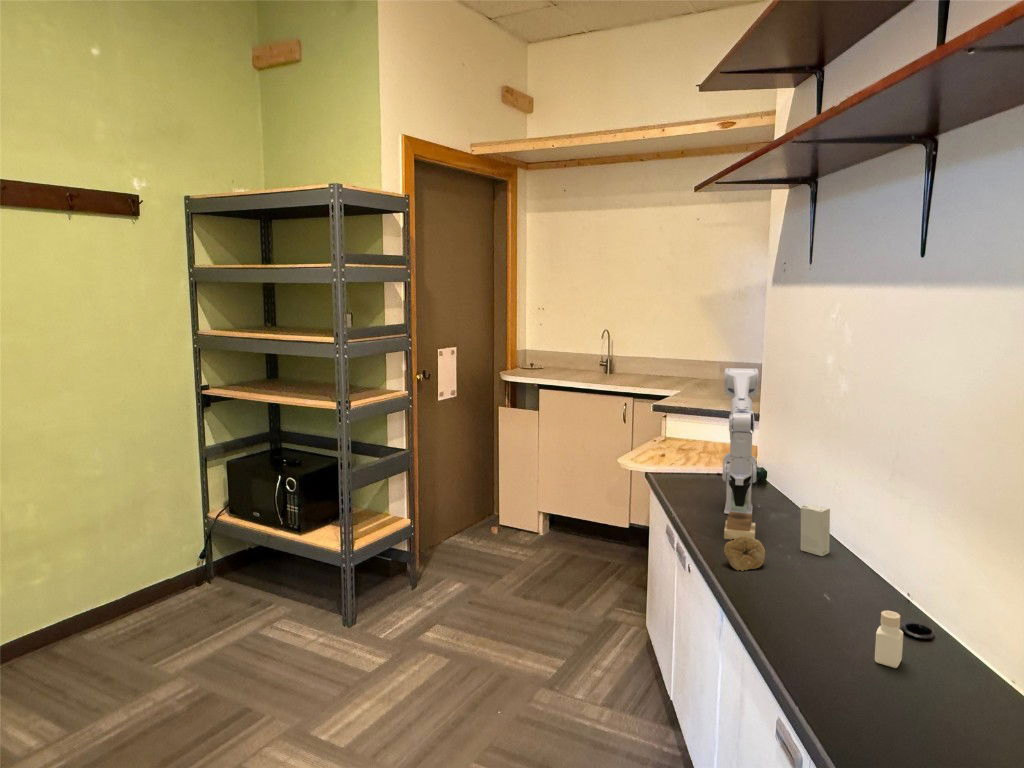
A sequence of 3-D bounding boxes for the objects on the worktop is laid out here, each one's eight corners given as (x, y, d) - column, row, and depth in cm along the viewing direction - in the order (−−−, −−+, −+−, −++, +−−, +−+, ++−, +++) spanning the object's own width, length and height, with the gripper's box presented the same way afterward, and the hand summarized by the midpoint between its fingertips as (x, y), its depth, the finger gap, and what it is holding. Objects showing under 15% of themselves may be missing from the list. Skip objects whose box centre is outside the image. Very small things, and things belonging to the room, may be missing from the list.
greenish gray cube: (733, 505, 201) (734, 488, 200) (748, 507, 199) (748, 490, 198) (730, 510, 197) (731, 492, 197) (745, 512, 195) (746, 494, 195)
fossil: (719, 541, 180) (754, 530, 181) (715, 549, 183) (750, 537, 185) (736, 574, 174) (773, 561, 176) (733, 581, 178) (768, 568, 179)
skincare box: (829, 552, 186) (831, 508, 184) (821, 557, 183) (823, 512, 181) (807, 546, 190) (809, 502, 188) (798, 550, 187) (800, 506, 186)
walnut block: (729, 521, 203) (729, 511, 203) (751, 523, 201) (751, 513, 200) (727, 528, 198) (727, 518, 197) (749, 531, 195) (750, 520, 195)
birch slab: (725, 530, 205) (725, 520, 204) (755, 533, 202) (755, 522, 202) (724, 540, 197) (724, 530, 197) (754, 543, 195) (754, 532, 194)
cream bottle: (878, 654, 137) (881, 607, 135) (902, 660, 134) (905, 613, 133) (873, 663, 134) (876, 615, 132) (897, 670, 131) (900, 621, 130)
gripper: (727, 448, 204) (726, 494, 206) (724, 461, 190) (723, 510, 193) (753, 449, 202) (751, 496, 204) (751, 462, 188) (750, 512, 190)
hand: (739, 503), depth 198 cm, fingers closed on greenish gray cube, 4 cm apart
